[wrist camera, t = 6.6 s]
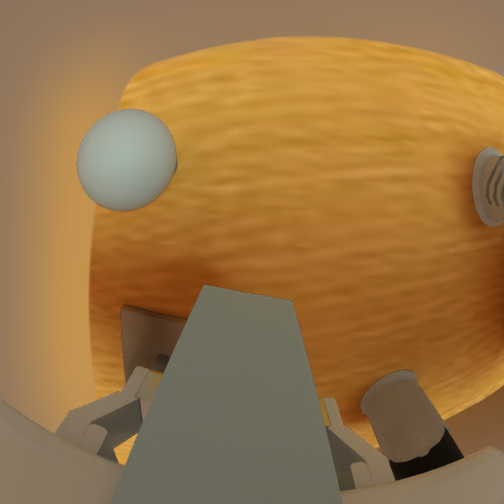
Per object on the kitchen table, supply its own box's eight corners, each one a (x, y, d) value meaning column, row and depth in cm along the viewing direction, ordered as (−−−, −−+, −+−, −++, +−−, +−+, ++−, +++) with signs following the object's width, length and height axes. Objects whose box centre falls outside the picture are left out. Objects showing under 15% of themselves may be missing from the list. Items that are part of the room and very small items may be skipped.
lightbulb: (193, 205, 23) (144, 228, 12) (129, 194, 22) (51, 209, 12) (207, 135, 21) (168, 98, 10) (141, 128, 21) (68, 99, 10)
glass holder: (412, 358, 27) (472, 441, 13) (424, 409, 30) (463, 475, 16) (351, 394, 28) (389, 492, 14) (377, 438, 31) (405, 509, 17)
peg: (292, 300, 14) (352, 555, 2) (272, 367, 15) (284, 573, 3) (204, 284, 13) (101, 533, 2) (195, 354, 15) (137, 555, 3)
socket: (300, 338, 26) (311, 376, 20) (262, 440, 30) (263, 474, 25) (124, 304, 25) (97, 334, 19) (133, 415, 30) (120, 446, 24)
